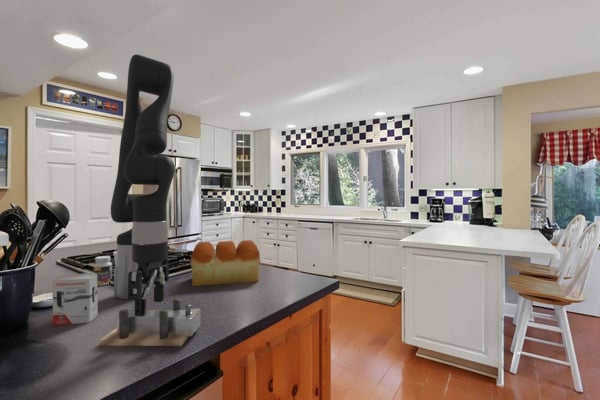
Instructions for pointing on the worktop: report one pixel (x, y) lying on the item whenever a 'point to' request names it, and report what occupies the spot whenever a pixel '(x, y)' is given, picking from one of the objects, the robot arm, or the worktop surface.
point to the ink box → (75, 298)
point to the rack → (144, 339)
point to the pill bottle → (103, 270)
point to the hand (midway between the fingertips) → (150, 308)
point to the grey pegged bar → (177, 322)
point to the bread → (225, 263)
